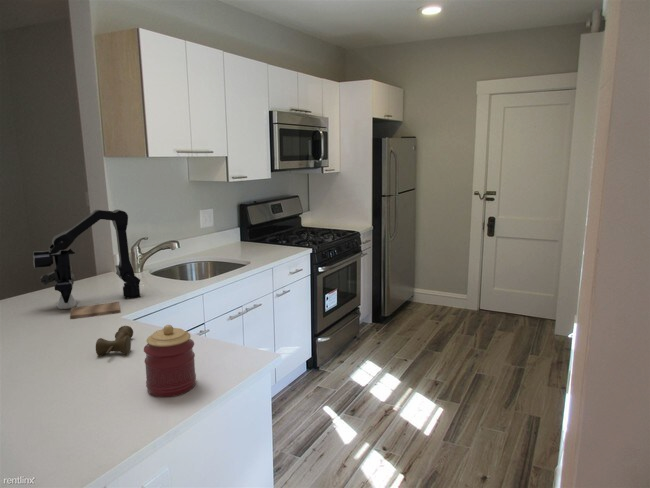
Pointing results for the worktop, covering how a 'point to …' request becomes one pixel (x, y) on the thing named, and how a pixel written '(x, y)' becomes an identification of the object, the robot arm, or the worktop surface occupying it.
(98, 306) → the walnut board
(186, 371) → the canister
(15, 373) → the worktop surface
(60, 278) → the robot arm
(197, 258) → the worktop surface
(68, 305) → the flask
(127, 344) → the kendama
